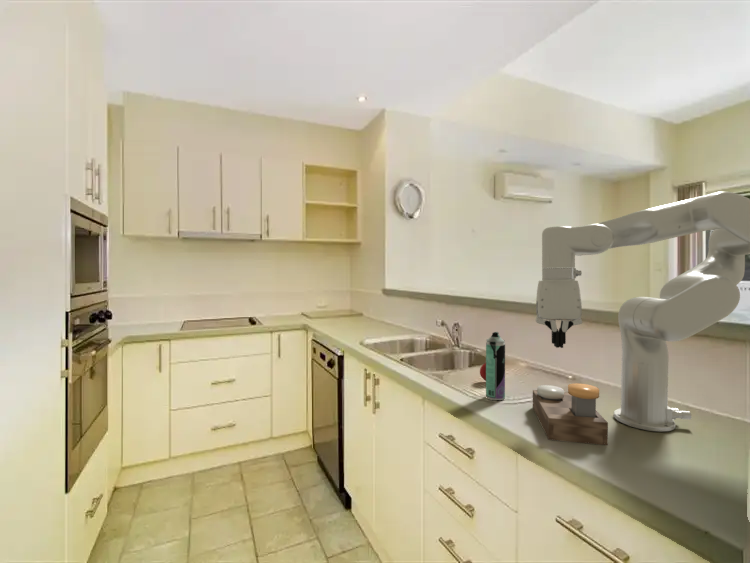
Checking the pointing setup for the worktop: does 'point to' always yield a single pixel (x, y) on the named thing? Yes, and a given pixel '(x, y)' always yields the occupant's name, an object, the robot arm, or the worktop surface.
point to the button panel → (569, 422)
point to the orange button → (583, 399)
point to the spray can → (495, 367)
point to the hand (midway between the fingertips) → (558, 346)
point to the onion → (483, 371)
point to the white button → (550, 392)
